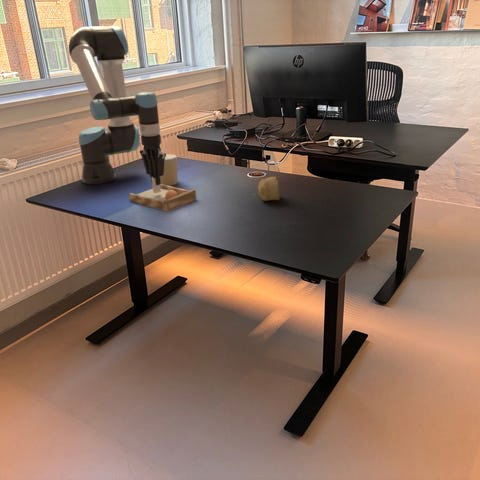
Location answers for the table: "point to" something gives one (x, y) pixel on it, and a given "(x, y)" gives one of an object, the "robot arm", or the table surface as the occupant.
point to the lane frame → (168, 204)
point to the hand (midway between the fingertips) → (157, 191)
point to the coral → (269, 189)
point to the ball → (170, 194)
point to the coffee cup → (169, 170)
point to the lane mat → (155, 194)
